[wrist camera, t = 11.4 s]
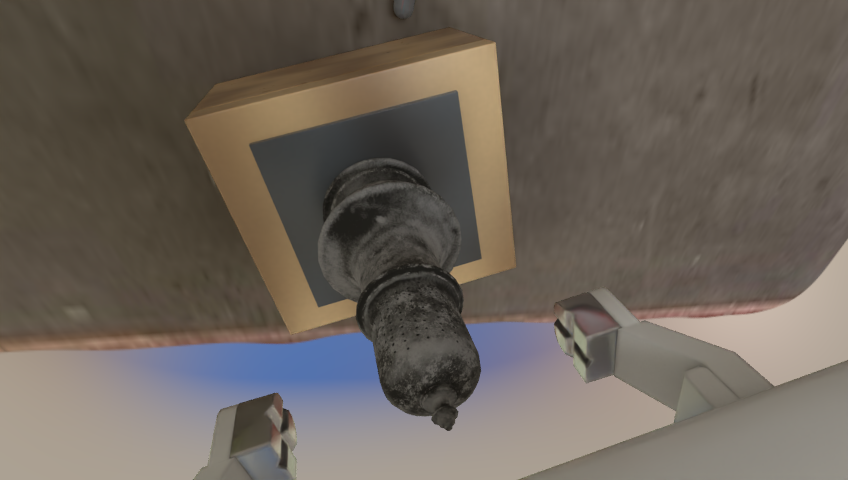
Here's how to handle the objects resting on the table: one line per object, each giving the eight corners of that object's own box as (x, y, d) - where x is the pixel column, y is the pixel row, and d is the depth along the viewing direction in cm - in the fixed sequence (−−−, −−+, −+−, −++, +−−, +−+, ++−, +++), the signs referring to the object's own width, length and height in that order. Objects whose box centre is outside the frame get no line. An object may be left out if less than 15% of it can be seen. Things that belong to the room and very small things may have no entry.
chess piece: (424, 266, 23) (517, 491, 13) (309, 259, 21) (312, 512, 11) (453, 160, 20) (597, 339, 10) (323, 141, 18) (344, 335, 8)
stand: (293, 264, 29) (290, 339, 23) (214, 84, 23) (181, 122, 17) (476, 212, 31) (518, 270, 25) (450, 26, 24) (498, 42, 18)
